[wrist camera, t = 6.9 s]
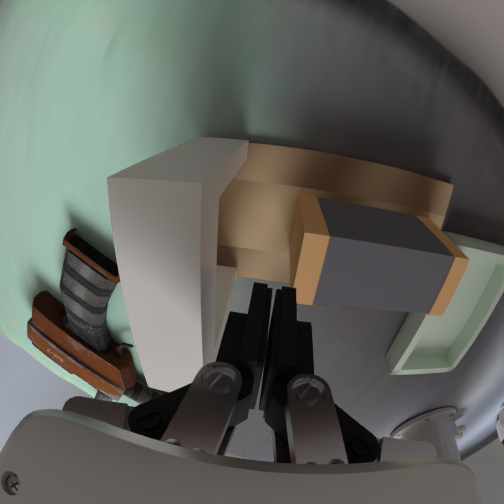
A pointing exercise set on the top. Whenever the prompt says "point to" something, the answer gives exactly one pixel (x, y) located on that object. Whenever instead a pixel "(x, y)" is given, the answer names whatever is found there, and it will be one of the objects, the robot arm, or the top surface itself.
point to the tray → (452, 314)
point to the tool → (85, 325)
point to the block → (371, 258)
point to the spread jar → (500, 425)
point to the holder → (315, 184)
